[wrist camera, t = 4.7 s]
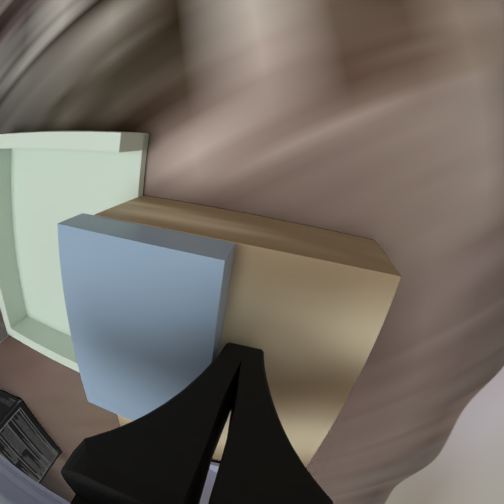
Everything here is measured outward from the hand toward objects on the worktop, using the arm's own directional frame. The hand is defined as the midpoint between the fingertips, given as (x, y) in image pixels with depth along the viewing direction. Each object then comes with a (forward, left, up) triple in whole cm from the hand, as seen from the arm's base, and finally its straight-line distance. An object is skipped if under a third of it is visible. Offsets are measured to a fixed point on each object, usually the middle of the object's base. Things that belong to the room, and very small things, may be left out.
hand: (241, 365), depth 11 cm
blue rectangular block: (0, +4, 0) cm, 4 cm away
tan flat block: (-2, +1, -4) cm, 5 cm away
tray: (+1, +12, -4) cm, 13 cm away
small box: (-27, +26, -5) cm, 38 cm away
